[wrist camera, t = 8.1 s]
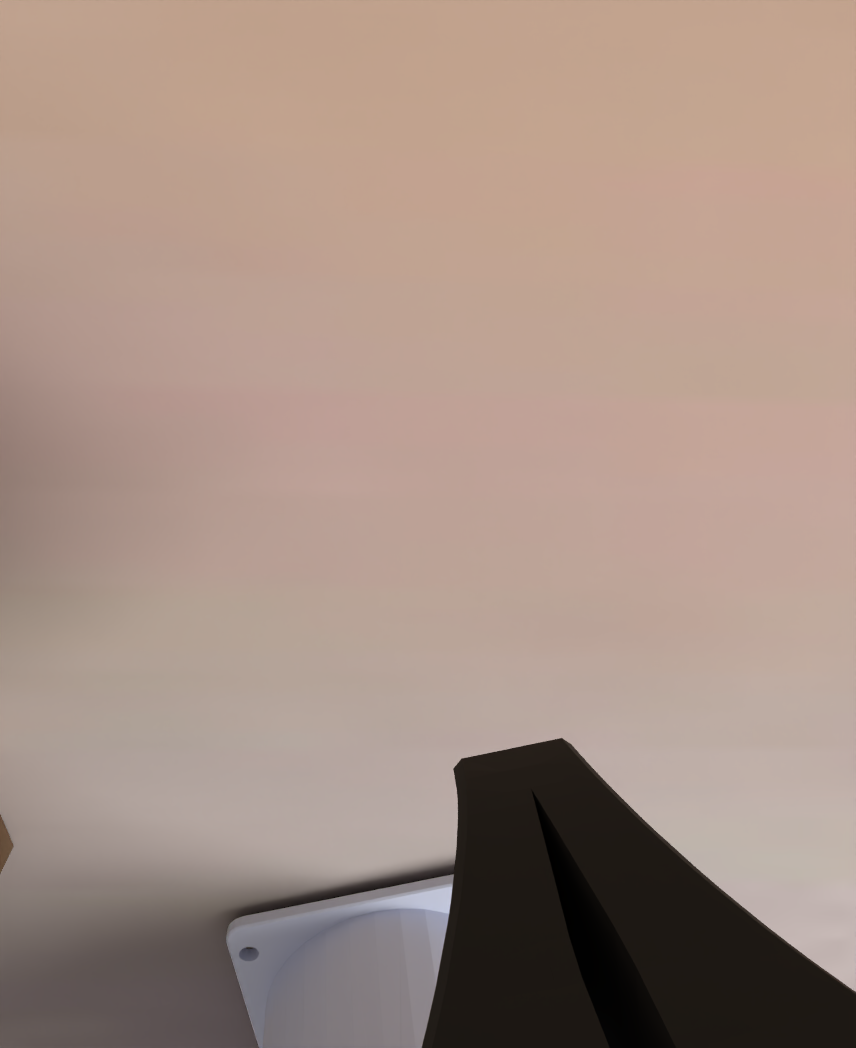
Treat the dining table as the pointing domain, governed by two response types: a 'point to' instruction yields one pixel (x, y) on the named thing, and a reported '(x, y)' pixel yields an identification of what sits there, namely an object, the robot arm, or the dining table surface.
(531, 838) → the robot arm
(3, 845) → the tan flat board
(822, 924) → the dining table surface
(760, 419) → the dining table surface
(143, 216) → the dining table surface
